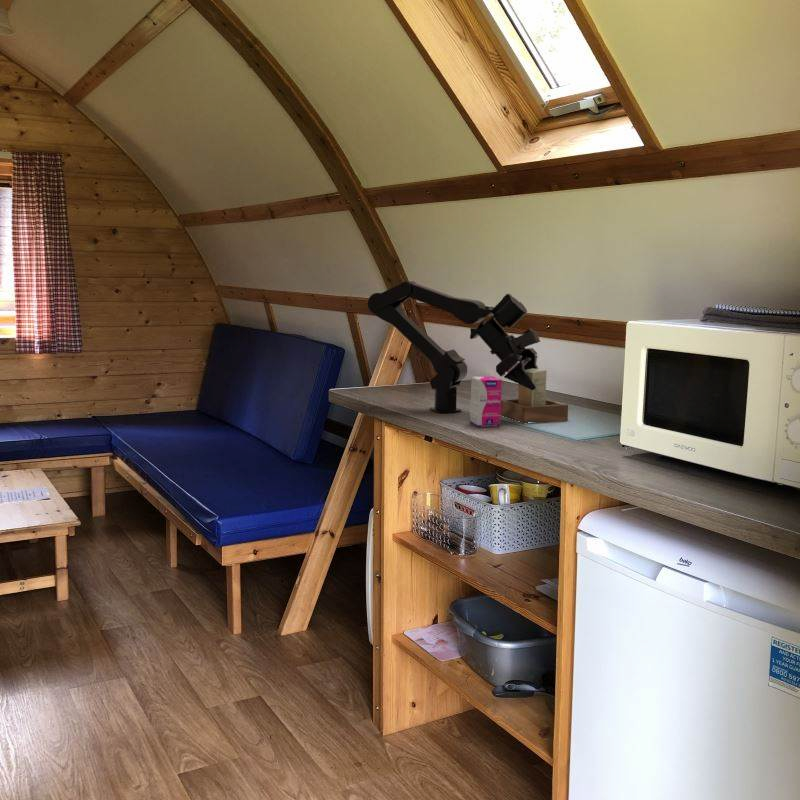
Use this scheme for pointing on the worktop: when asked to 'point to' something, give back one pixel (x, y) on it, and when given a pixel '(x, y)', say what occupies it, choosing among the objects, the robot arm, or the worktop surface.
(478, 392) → the supplement box
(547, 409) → the shallow wooden tray
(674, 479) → the worktop surface
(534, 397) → the skincare box
